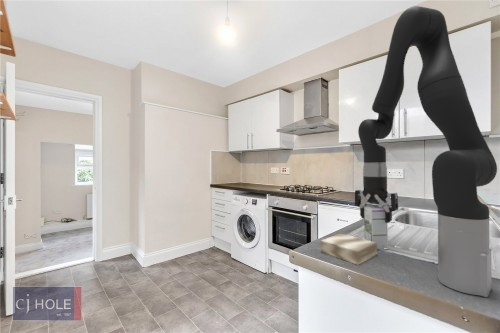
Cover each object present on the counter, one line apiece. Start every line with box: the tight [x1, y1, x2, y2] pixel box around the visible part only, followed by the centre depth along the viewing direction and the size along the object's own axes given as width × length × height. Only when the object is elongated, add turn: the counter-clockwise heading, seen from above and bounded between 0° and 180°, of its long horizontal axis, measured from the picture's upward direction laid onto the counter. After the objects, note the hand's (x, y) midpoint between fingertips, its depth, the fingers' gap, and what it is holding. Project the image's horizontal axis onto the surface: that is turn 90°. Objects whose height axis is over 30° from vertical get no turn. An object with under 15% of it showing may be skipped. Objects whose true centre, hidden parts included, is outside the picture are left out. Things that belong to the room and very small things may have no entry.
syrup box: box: [363, 204, 389, 251], centre depth 82 cm, size 6×6×14 cm
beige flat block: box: [320, 233, 378, 266], centre depth 76 cm, size 13×12×4 cm
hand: (375, 220), depth 82 cm, fingers closed on syrup box, 8 cm apart
